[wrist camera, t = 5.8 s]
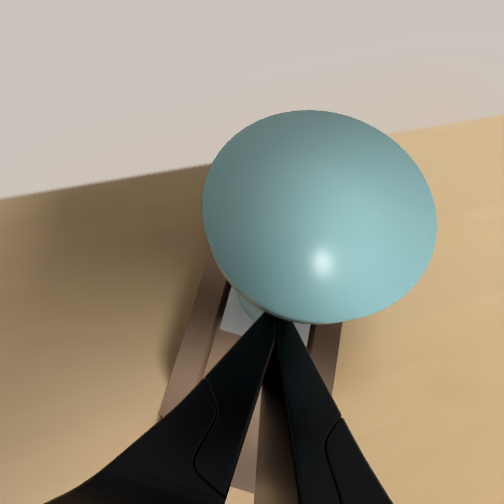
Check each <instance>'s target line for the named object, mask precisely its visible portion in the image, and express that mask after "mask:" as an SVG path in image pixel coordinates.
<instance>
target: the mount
mask: <svg viewBox="0 0 504 504" xmlns="http://www.w3.org/2000/svg"><path fill="white" fill-rule="evenodd" d="M231 287H232V286H231V284H230V283H229V282H228V281H227V280H226V278H225V277H224V275H223V274H222V272H221V271H220V269H219V267H218V265H217V263H216V261H215V259H214V256H213V254H212V251H211V253H210V256H209V259H208V262H207V265H206V268H205V271H204V275H203V278H202V281H201V284H200V287H199V290H198V293H197V296H196V299H195V302H194V306H193V309H192V312H191V315H190V318H189V321H188V324H187V327H186V330H185V333H184V337H183V340H182V343H181V346H180V349H179V352H178V355H177V358H176V361H175V364H174V368H173V371H172V374H171V377H170V380H169V383H168V386H167V389H166V392H165V395H164V399H163V402H162V405H161V408H160V411H159V414H158V415H160V416H163V417H164V416H165V415H167V414H168V413H169V412H170V411H171V410H172V409H173V408H174V407H175V406H177V405H178V404H179V403H180V402H181V401H182V400H183V399H184V398H185V397H186V396H187V395H188V394H189V393H190V392H191V391H192V390H193V389H194V387H195V386H196V385H197V384H198V383H199V382H200V381H201V380H202V379H203V378H204V377H205V376H206V375H207V373H208V372H209V371H210V370H211V369H212V368H213V367H214V366H215V365H216V364H217V363H218V361H219V360H220V359H221V358H222V357H223V356H224V355H225V354H226V353H227V352H228V351H229V349H230V348H231V347H232V346H233V345H234V344H235V343H236V342H237V341H238V340H239V339H240V337H241V335H237V334H233V333H229V332H226V331H223V330H221V329H220V325H221V322H222V318H223V315H224V311H225V308H226V304H227V301H228V297H229V294H230V290H231ZM341 327H342V322H338V323H333V324H321V325H314V324H311V325H310V330H309V336H308V341H307V347H306V348H307V350H308V352H309V354H310V356H311V357H312V359H313V361H314V363H315V365H316V367H317V369H318V371H319V373H320V375H321V377H322V379H323V380H324V382H325V384H326V386H327V388H328V390H329V392H330V394H331V396H332V390H333V383H334V376H335V369H336V362H337V355H338V348H339V341H340V334H341ZM261 389H262V387H261ZM260 402H261V390H260V393H259V396H258V399H257V403H256V406H255V409H254V412H253V415H252V418H251V422H250V425H249V428H248V431H247V434H246V437H245V441H244V444H243V447H242V450H241V453H240V456H239V460H238V463H237V466H236V469H235V472H234V475H233V479H232V482H231V485H230V486H231V487H235V488H238V489H241V490H244V491H248V492H251V493H254V494H255V479H256V464H257V448H258V433H259V417H260ZM163 417H162V418H163Z"/></svg>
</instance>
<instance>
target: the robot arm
mask: <svg viewBox="0 0 504 504" xmlns="http://www.w3.org/2000/svg"><path fill="white" fill-rule="evenodd" d="M261 387H262V389H261ZM260 390H261V402H260V417H259V433H258V448H257V464H256V479H255V495H254V504H393V503H392V501H391V499H390V498H389V496H388V495H387V493H386V492H385V490H384V488H383V487H382V485H381V484H380V482H379V480H378V479H377V477H376V475H375V474H374V472H373V470H372V469H371V467H370V466H369V464H368V462H367V461H366V459H365V457H364V456H363V454H362V452H361V450H360V448H359V446H358V445H357V443H356V441H355V439H354V437H353V436H352V434H351V432H350V430H349V428H348V426H347V424H346V422H345V420H344V419H343V418H341V413H340V411H339V409H338V407H337V405H336V403H335V402H334V400H333V398H332V396H331V394H330V392H329V390H328V388H327V386H326V384H325V382H324V380H323V379H322V377H321V375H320V373H319V371H318V369H317V367H316V365H315V363H314V361H313V359H312V357H311V356H310V354H309V352H308V350H307V348H306V346H305V344H304V342H303V340H302V338H301V336H300V334H299V333H298V331H297V329H296V327H295V325H294V323H293V322H291V321H287V320H284V319H281V318H278V317H275V316H273V315H271V314H269V313H266V312H263V313H262V315H261V316H260V317H259V318H258V319H257V320H256V321H255V322H254V323H253V324H252V325H251V327H250V328H249V329H248V330H247V331H246V332H245V333H244V334H243V335H242V336H241V337H240V339H239V340H238V341H237V342H236V343H235V344H234V345H233V346H232V347H231V348H230V349H229V351H228V352H227V353H226V354H225V355H224V356H223V357H222V358H221V359H220V360H219V361H218V363H217V364H216V365H215V366H214V367H213V368H212V369H211V370H210V371H209V372H208V373H207V375H206V376H205V377H204V378H203V379H202V380H201V381H200V382H199V383H198V384H197V385H196V386H195V387H194V389H193V390H192V391H191V392H190V393H189V394H188V395H187V396H186V397H185V398H184V399H183V400H182V401H181V402H180V403H179V404H178V405H177V406H175V407H174V408H173V409H172V410H171V411H170V412H169V413H168V414H167V415H165V416H164V417H163V418H162V419H161V420H160V421H159V422H157V423H156V424H155V425H154V426H153V427H152V428H150V429H149V430H148V431H147V432H146V433H144V434H143V435H142V436H141V437H140V438H139V439H137V440H136V441H135V442H134V443H133V444H132V445H130V446H129V447H128V448H127V449H126V450H124V451H123V452H122V453H121V454H120V455H119V456H117V457H116V458H115V459H114V460H113V461H111V462H110V463H109V464H108V465H107V466H105V467H104V468H103V469H102V470H100V471H99V472H98V473H96V474H95V475H94V476H92V477H91V478H90V479H88V480H87V481H85V482H84V483H82V484H81V485H79V486H77V487H76V488H74V489H72V490H70V491H69V492H67V493H65V494H63V495H61V496H59V497H56V498H54V499H52V500H50V501H48V502H46V503H44V504H225V501H226V498H227V494H228V491H229V488H230V485H231V482H232V479H233V475H234V472H235V469H236V466H237V463H238V460H239V456H240V453H241V450H242V447H243V444H244V441H245V437H246V434H247V431H248V428H249V425H250V422H251V418H252V415H253V412H254V409H255V406H256V403H257V399H258V396H259V393H260Z"/></svg>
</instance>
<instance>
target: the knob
mask: <svg viewBox="0 0 504 504" xmlns="http://www.w3.org/2000/svg"><path fill="white" fill-rule="evenodd" d="M202 220H203V225H204V230H205V234H206V237H207V240H208V243H209V246H210V248H211V251H212V254H213V256H214V259H215V261H216V263H217V265H218V267H219V269H220V271H221V272H222V274H223V275H224V277H225V278H226V280H227V281H228V282H229V283H230V284H231V286H232V287H231V290H230V294H229V297H228V301H227V304H226V308H225V311H224V315H223V318H222V322H221V325H220V329H221V330H223V331H226V332H229V333H233V334H237V335H241V336H242V335H243V334H244V333H245V332H246V331H247V330H248V329H249V328H250V327H251V325H252V324H253V323H254V322H255V321H256V320H257V319H258V318H259V317H260V316H261V315H262V313H263V312H266V313H269V314H271V315H273V316H275V317H278V318H281V319H284V320H287V321H291V322H293V323H294V325H295V327H296V329H297V331H298V333H299V334H300V336H301V338H302V340H303V342H304V344H305V346H306V347H307V341H308V336H309V330H310V325H311V324H314V325H321V324H333V323H338V322H343V321H347V320H352V319H356V318H361V317H365V316H368V315H370V314H373V313H376V312H378V311H381V310H383V309H384V308H386V307H388V306H390V305H391V304H393V303H395V302H396V301H397V300H399V299H400V298H401V297H402V296H404V295H405V294H406V293H407V292H408V291H409V290H410V289H411V288H412V287H413V286H414V285H415V284H416V283H417V281H418V280H419V278H420V277H421V275H422V274H423V272H424V271H425V269H426V267H427V265H428V263H429V260H430V258H431V255H432V252H433V248H434V245H435V238H436V229H437V228H436V212H435V207H434V201H433V198H432V195H431V192H430V189H429V187H428V185H427V182H426V180H425V178H424V176H423V175H422V173H421V171H420V170H419V168H418V167H417V165H416V164H415V162H414V161H413V160H412V159H411V158H410V156H409V155H408V154H407V153H406V152H405V151H404V150H403V149H402V148H401V147H400V146H399V145H398V144H397V143H396V142H394V141H393V140H392V139H391V138H389V137H388V136H387V135H385V134H384V133H382V132H381V131H379V130H378V129H376V128H374V127H372V126H370V125H368V124H366V123H364V122H362V121H360V120H357V119H354V118H352V117H348V116H345V115H341V114H337V113H332V112H326V111H315V110H313V111H312V110H302V111H291V112H285V113H280V114H276V115H273V116H269V117H267V118H264V119H262V120H259V121H257V122H255V123H253V124H251V125H250V126H248V127H246V128H245V129H243V130H242V131H240V132H239V133H238V134H236V135H235V136H234V137H233V138H232V139H231V140H230V141H228V142H227V144H226V145H225V146H224V147H223V148H222V150H221V151H220V152H219V153H218V155H217V156H216V158H215V159H214V161H213V163H212V165H211V167H210V169H209V171H208V174H207V176H206V180H205V183H204V187H203V194H202Z"/></svg>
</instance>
